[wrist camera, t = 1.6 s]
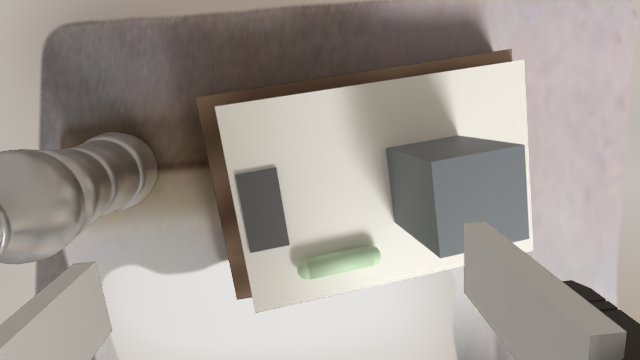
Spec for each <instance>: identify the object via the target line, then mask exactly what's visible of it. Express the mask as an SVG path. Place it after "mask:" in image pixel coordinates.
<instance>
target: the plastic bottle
mask: <svg viewBox="0 0 640 360" xmlns="http://www.w3.org/2000/svg"><path fill="white" fill-rule="evenodd" d="M157 173H158V169H157V162H156V158H155V156H154V153H153V152H152V150H151V149H150V147H149V146H148V145H147V144H146V143H145V142H143V141H142V140H141V139H139V138H137V137H135V136H133V135H129V134H124V133H120V132H108V133H103V134H100V135H98V136H95V137H93V138H91V139H89V140H87V141H86V142H84V143H83V144H81V145H78V146H76V147H73V148H68V149H60V150H24V149H23V150H22V149H20V150H9V151H3V152H0V263H5V264H23V263H29V262H35V261H40V260H43V259H46V258H48V257H51V256H52V255H54V254H56V253H57V252H59V251H60V250H61V249H63V248H64V247H65V246H67V245H68V244H69V243H70V242H71V241H72V240H73V239H74V238H75V237H76V236H77V235H78V234H79V233H80V232H81V231H82V230H83V229H84V228H85V227H86V226H88V225H89V224H90V223H92V222H93V221H95V220H96V219H97V218H99V217H101V216H102V215H105V214H107V213H110V212H112V211H119V210H123V209H126V208H129V207H132V206H134V205H136V204H138V203H139V202H141V201H142V200H143V199H144V198H145V197H146V196H147V195H148V193H149V192H150V191H151V189H152V188H153V186H154V184H155V182H156V178H157Z"/></svg>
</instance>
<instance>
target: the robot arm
mask: <svg viewBox="0 0 640 360" xmlns="http://www.w3.org/2000/svg"><path fill="white" fill-rule="evenodd" d="M464 293H465V294H466V295H467V297H468V298H469V299H470V300H471V302H472V303H473V304H474V306H475V307H476V308H477V310H478V311H479V312H480V314H481V315H482V316H483V317H484V319H485V320H486V321H487V323H488V324H489V325H490V327H491V328H492V329H493V330H494V332H495V333H496V334H497V336H498V337H499V338H500V340H501V341H502V342H503V344H504V345H505V346H506V347H507V349H508V350H509V351H510V353H511V354H512V355H513V357H514V358H515V359H516V360H640V324H639V323H637V322H636V321H635V320H633V319H632V318H630V317H629V316H628V315H627V314H625V313H624V312H622V311H621V310H618V309H617V307H616V306H614V305H613V304H611V303H610V302H609V301H606V300H605V298H603V297H602V296H600V295H599V294H598V293H596V292H595V291H594V290H592V289H591V288H588V287H586V286H584V285H581V284H579V283H576V282H574V281H572V280H571V281H561V280H560V279H558V278H557V277H556V276H554V275H553V274H552V273H551V272H549V271H548V270H547V269H545V268H544V267H543V266H542V265H540V264H539V263H538V262H537V261H535V260H534V259H533V258H531V257H530V256H529V255H528V254H526V253H525V252H524V251H522V250H521V249H520V248H519V247H517V246H516V245H515V244H513V243H512V242H511V241H510V240H508V239H507V238H506V237H504V236H503V235H502V234H501V233H499V232H498V231H497V230H495V229H494V228H493V227H492V226H490V225H489V224H488V223H486V222H485V221H483V222H474V223H464ZM111 331H112V327H111V323H110V319H109V315H108V311H107V307H106V302H105V298H104V294H103V290H102V286H101V282H100V278H99V274H98V270H97V266H96V262H87V263H77V264H73V265H72V266H70V267H69V268H68V269H67V270H66V271H64V272H63V273H62V274H61V275H60V276H58V277H57V278H56V279H55V280H54V281H52V282H51V283H50V284H49V285H48V286H46V287H45V288H44V289H43V290H42V291H41V292H39V293H38V294H37V295H36V296H35V297H33V298H32V299H31V300H30V301H29V302H27V303H26V304H25V305H24V306H23V307H21V308H20V309H19V310H18V311H17V312H15V313H14V314H13V315H12V316H11V317H9V318H8V319H7V320H6V321H5V322H4V323H2V324H1V325H0V360H91V359H92V357H93V356H94V355H95V353H96V352H97V351H98V349H99V348H100V347H101V345H102V344H103V342H104V341H105V340H106V338H107V337H108V336H109V334H110V333H111Z"/></svg>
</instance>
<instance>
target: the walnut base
mask: <svg viewBox="0 0 640 360" xmlns="http://www.w3.org/2000/svg"><path fill="white" fill-rule="evenodd" d="M505 62H512V49H508V50H502V51H495V52H489V53H482V54H476V55H469V56H462V57H456V58H449V59H443V60H436V61H430V62H423V63H417V64H410V65H404V66H397V67H390V68H384V69H377V70H371V71H364V72H358V73H351V74H345V75H338V76H332V77H325V78H319V79H312V80H305V81H299V82H292V83H286V84H279V85H273V86H266V87H260V88H253V89H247V90H240V91H233V92H227V93H220V94H214V95H207V96H201V97H195V99H196V103H197V108H198V113H199V118H200V123H201V128H202V132H203V137H204V142H205V147H206V152H207V157H208V161H209V166H210V171H211V176H212V181H213V186H214V190H215V195H216V200H217V205H218V210H219V215H220V219H221V224H222V229H223V234H224V239H225V244H226V248H227V253H228V258H229V263H230V267H231V272H232V277H233V282H234V287H235V291H236V297H237V299H244V298H250V297H252V292H251V287H250V282H249V277H248V272H247V267H246V262H245V257H244V252H243V247H242V242H241V237H240V232H239V227H238V222H237V217H236V212H235V207H234V202H233V197H232V192H231V187H230V182H229V176H228V171H227V166H226V161H225V156H224V151H223V146H222V141H221V136H220V131H219V126H218V121H217V116H216V111H215V107H216V106H222V105H229V104H235V103H242V102H248V101H255V100H262V99H268V98H275V97H281V96H288V95H295V94H301V93H308V92H314V91H321V90H327V89H334V88H341V87H347V86H354V85H360V84H367V83H374V82H380V81H387V80H393V79H400V78H407V77H413V76H420V75H426V74H433V73H439V72H446V71H453V70H459V69H466V68H472V67H479V66H486V65H492V64H499V63H505Z"/></svg>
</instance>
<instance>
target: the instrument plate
mask: <svg viewBox="0 0 640 360" xmlns="http://www.w3.org/2000/svg"><path fill="white" fill-rule="evenodd" d="M215 111H216V116H217V121H218V126H219V131H220V136H221V141H222V146H223V151H224V156H225V161H226V166H227V171H228V176H229V182H230V187H231V192H232V197H233V202H234V207H235V212H236V217H237V222H238V227H239V232H240V237H241V242H242V247H243V252H244V257H245V262H246V267H247V272H248V277H249V282H250V287H251V292H252V297H253V302H254V307H255V312H256V313H258V312H262V311H266V310H271V309H276V308H280V307H284V306H289V305H293V304H297V303H302V302H307V301H311V300H315V299H320V298H324V297H329V296H333V295H338V294H342V293H346V292H351V291H355V290H360V289H364V288H369V287H373V286H378V285H382V284H387V283H391V282H396V281H400V280H404V279H409V278H413V277H418V276H422V275H427V274H431V273H435V272H440V271H444V270H449V269H453V268H458V267H462V266H464V223H474V222H483V221H485V222H486V223H488V224H489V225H490V226H492V227H493V228H494V229H495V230H497V231H498V232H499V233H501V234H502V235H503V236H504V237H506V238H507V239H508V240H510V241H511V242H512V243H513V244H515V245H516V246H517V247H519V248H520V249H521V250H522V251H524V252H529V251H533V234H532V213H531V192H530V171H529V150H528V130H527V109H526V88H525V67H524V60H518V61H512V62H505V63H499V64H492V65H486V66H479V67H472V68H466V69H459V70H453V71H446V72H439V73H433V74H426V75H420V76H413V77H407V78H400V79H393V80H387V81H380V82H374V83H367V84H360V85H354V86H347V87H341V88H334V89H327V90H321V91H314V92H308V93H301V94H295V95H288V96H281V97H275V98H268V99H262V100H255V101H248V102H242V103H235V104H229V105H222V106H216V107H215Z"/></svg>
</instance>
